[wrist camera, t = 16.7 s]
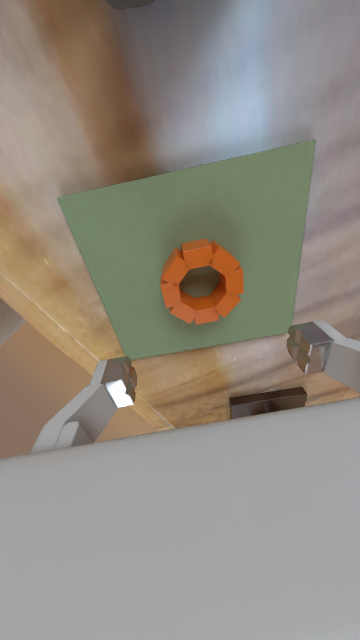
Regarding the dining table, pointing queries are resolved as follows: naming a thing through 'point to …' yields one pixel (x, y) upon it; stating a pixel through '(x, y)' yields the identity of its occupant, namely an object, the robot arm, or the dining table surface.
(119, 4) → the yellow shoe
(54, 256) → the dining table surface
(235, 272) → the ring
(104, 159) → the dining table surface
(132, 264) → the mat
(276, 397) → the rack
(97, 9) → the dining table surface
